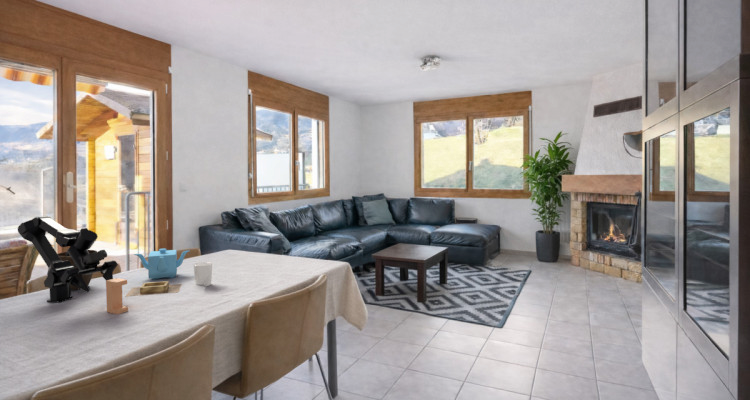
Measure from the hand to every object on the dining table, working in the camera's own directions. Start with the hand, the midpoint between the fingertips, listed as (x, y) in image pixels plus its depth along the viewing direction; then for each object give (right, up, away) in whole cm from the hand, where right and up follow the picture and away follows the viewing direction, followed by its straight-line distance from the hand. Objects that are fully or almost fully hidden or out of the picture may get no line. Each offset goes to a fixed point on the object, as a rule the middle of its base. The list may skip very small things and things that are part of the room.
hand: (101, 288), depth 155 cm
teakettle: (0, -5, +45) cm, 46 cm away
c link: (+8, -8, -3) cm, 12 cm away
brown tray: (+9, -7, +22) cm, 25 cm away
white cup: (+25, -6, +34) cm, 43 cm away
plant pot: (-29, -6, +28) cm, 41 cm away
